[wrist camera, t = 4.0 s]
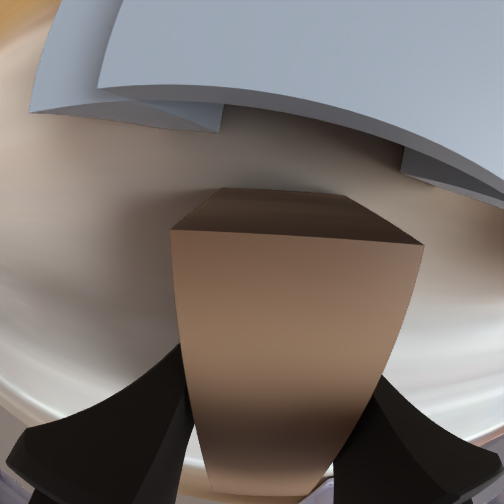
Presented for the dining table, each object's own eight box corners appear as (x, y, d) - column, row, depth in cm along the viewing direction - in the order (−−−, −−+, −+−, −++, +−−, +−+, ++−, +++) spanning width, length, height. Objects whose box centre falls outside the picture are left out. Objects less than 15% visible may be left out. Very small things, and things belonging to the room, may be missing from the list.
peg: (301, 413, 12) (308, 495, 8) (225, 410, 12) (212, 491, 8) (345, 196, 8) (424, 245, 4) (222, 187, 9) (169, 229, 4)
